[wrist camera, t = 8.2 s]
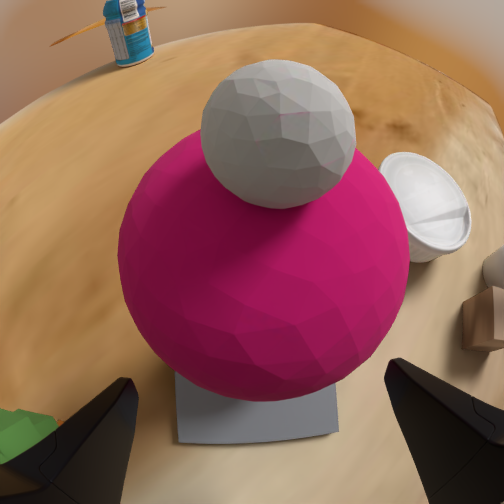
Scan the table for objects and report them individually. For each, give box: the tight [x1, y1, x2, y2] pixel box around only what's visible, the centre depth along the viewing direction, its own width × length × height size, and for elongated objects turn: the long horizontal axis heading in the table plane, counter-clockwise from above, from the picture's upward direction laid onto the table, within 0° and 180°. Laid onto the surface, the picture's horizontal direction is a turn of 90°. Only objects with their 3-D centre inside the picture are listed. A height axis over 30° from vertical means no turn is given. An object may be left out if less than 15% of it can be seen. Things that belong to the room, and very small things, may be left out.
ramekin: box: [378, 152, 471, 263], centre depth 24 cm, size 11×11×5 cm
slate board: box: [175, 371, 339, 444], centre depth 21 cm, size 16×12×1 cm
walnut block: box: [462, 286, 504, 352], centre depth 19 cm, size 5×5×5 cm
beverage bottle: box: [103, 0, 154, 67], centre depth 34 cm, size 8×8×20 cm
